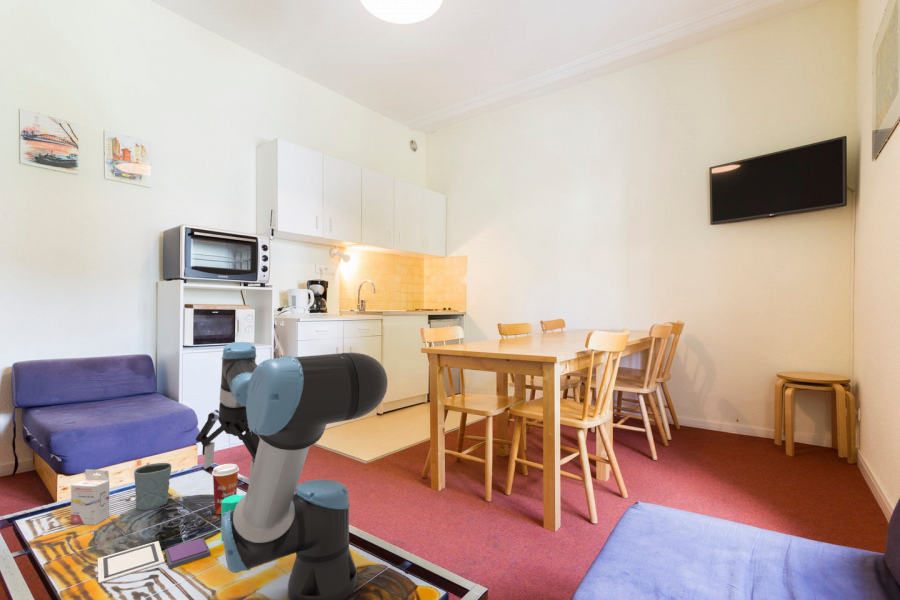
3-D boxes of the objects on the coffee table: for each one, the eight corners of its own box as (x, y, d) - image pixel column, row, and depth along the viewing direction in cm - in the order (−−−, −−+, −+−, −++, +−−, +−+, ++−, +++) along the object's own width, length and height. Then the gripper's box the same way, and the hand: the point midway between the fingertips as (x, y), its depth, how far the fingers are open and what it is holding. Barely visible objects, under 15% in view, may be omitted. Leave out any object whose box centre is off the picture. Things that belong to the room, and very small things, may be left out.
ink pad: (210, 555, 112) (210, 550, 112) (169, 569, 106) (169, 563, 106) (203, 541, 119) (203, 536, 119) (164, 553, 113) (164, 548, 113)
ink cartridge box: (69, 524, 130) (69, 474, 130) (84, 516, 135) (85, 468, 135) (95, 525, 129) (95, 475, 129) (110, 517, 134) (110, 469, 134)
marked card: (164, 562, 109) (164, 561, 109) (98, 583, 101) (98, 582, 101) (158, 541, 119) (158, 540, 119) (97, 559, 111) (97, 558, 111)
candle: (235, 543, 118) (235, 498, 118) (216, 541, 119) (216, 497, 120) (249, 532, 124) (249, 489, 124) (231, 530, 125) (231, 488, 125)
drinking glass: (126, 509, 139) (126, 471, 140) (155, 496, 149) (156, 461, 149) (150, 513, 136) (150, 474, 137) (178, 499, 146) (178, 463, 146)
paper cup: (218, 520, 131) (218, 473, 132) (207, 513, 136) (207, 468, 136) (244, 510, 137) (244, 466, 138) (232, 504, 142) (232, 461, 142)
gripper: (287, 406, 114) (280, 476, 118) (204, 383, 117) (200, 452, 122) (271, 419, 106) (264, 493, 111) (182, 395, 110) (179, 467, 115)
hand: (230, 472), depth 116 cm, fingers open, 13 cm apart
